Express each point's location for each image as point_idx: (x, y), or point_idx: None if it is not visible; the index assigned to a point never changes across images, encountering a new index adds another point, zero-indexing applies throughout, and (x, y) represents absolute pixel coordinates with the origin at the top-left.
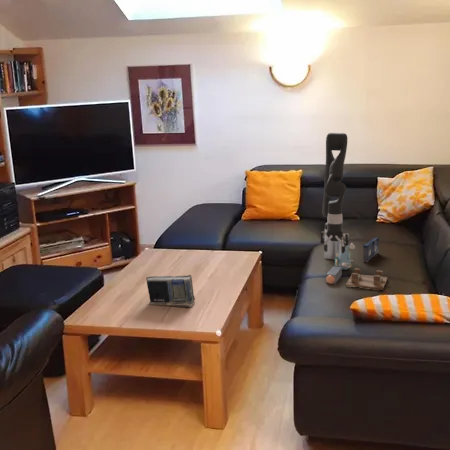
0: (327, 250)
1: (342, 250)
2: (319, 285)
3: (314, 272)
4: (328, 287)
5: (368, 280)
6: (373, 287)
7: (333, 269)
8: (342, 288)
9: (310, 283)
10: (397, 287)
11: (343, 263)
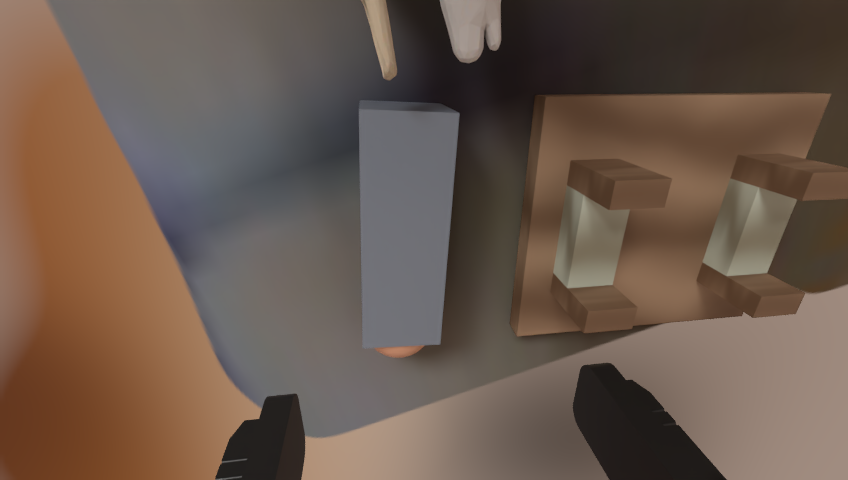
0: (294, 399)
1: (612, 463)
2: (332, 358)
3: (151, 87)
4: (401, 366)
5: (672, 216)
6: (687, 318)
7: (390, 216)
8: (491, 350)
9: (256, 348)
10: (828, 219)
11: (470, 10)
